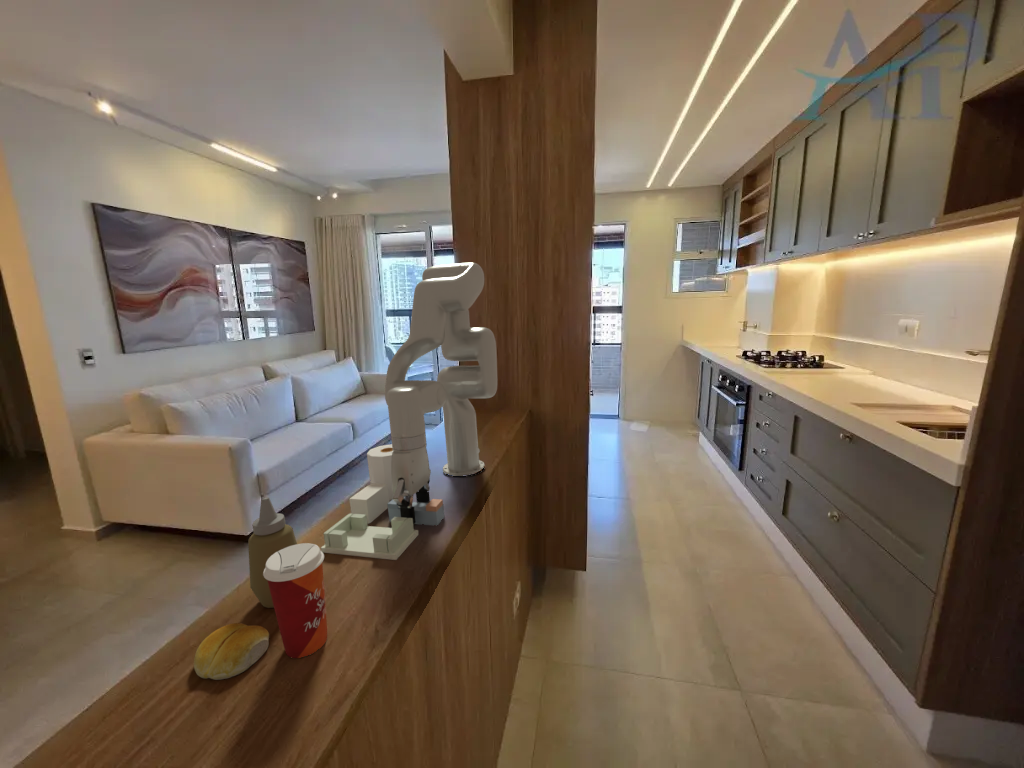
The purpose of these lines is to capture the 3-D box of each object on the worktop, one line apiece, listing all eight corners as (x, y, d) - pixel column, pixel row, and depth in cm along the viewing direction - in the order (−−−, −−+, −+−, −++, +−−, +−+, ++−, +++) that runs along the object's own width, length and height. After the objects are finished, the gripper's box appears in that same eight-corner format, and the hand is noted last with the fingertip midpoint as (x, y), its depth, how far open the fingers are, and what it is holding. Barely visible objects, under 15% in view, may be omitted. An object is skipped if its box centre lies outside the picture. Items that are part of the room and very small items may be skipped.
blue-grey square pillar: (398, 514, 100) (396, 496, 99) (444, 518, 97) (442, 499, 96) (389, 522, 96) (387, 503, 95) (437, 526, 93) (435, 507, 92)
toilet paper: (387, 483, 119) (382, 442, 117) (418, 486, 115) (414, 444, 113) (363, 498, 109) (358, 454, 107) (397, 502, 106) (392, 457, 104)
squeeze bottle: (284, 616, 67) (267, 511, 64) (242, 611, 68) (223, 509, 65) (317, 583, 74) (303, 489, 71) (278, 580, 76) (263, 488, 73)
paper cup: (331, 656, 58) (318, 564, 56) (270, 671, 56) (254, 577, 54) (338, 618, 66) (326, 536, 63) (284, 630, 63) (270, 546, 61)
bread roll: (232, 632, 64) (228, 609, 63) (280, 640, 62) (276, 616, 61) (178, 677, 56) (172, 651, 56) (230, 689, 54) (225, 662, 53)
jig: (349, 528, 94) (347, 512, 93) (418, 534, 90) (416, 517, 89) (321, 552, 85) (318, 534, 84) (396, 560, 80) (394, 541, 80)
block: (374, 505, 105) (371, 482, 104) (390, 506, 104) (387, 483, 103) (352, 522, 97) (349, 498, 96) (369, 524, 96) (366, 499, 95)
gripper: (412, 430, 102) (418, 497, 105) (372, 453, 86) (381, 533, 89) (440, 430, 101) (446, 499, 104) (405, 454, 84) (413, 536, 87)
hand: (416, 514), depth 96 cm, fingers open, 6 cm apart
